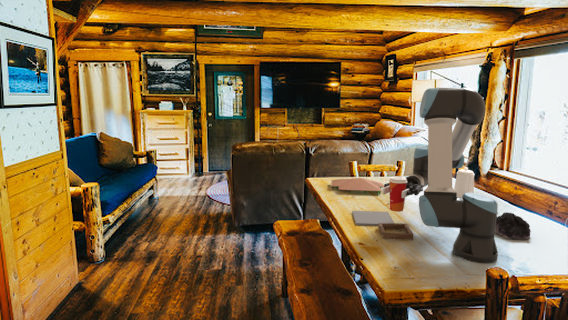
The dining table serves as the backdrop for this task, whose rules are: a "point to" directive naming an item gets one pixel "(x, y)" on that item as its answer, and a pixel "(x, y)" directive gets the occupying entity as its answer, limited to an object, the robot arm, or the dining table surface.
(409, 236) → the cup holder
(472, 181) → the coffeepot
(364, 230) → the dining table surface
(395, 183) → the paper cup
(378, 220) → the slate tile
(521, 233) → the dark brown lumpy mound
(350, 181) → the house
